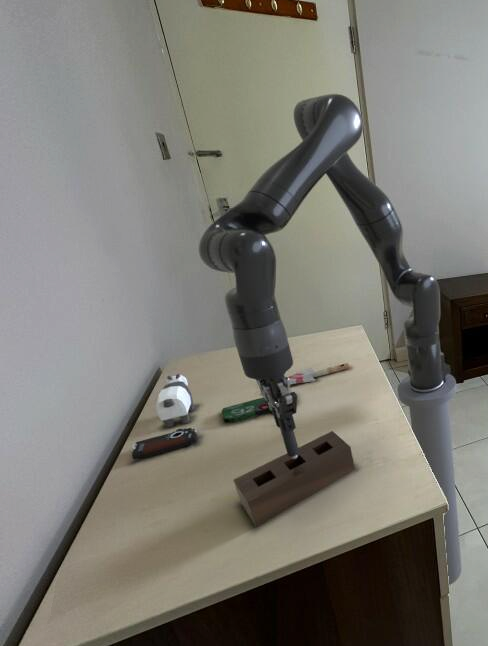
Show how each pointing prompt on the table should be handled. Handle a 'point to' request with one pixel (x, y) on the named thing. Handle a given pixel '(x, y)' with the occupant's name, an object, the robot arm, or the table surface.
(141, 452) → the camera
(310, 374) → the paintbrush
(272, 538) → the table surface
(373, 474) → the table surface
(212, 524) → the table surface
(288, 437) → the stylus
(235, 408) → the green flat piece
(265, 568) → the table surface
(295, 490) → the pen stand
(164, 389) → the giant panda
